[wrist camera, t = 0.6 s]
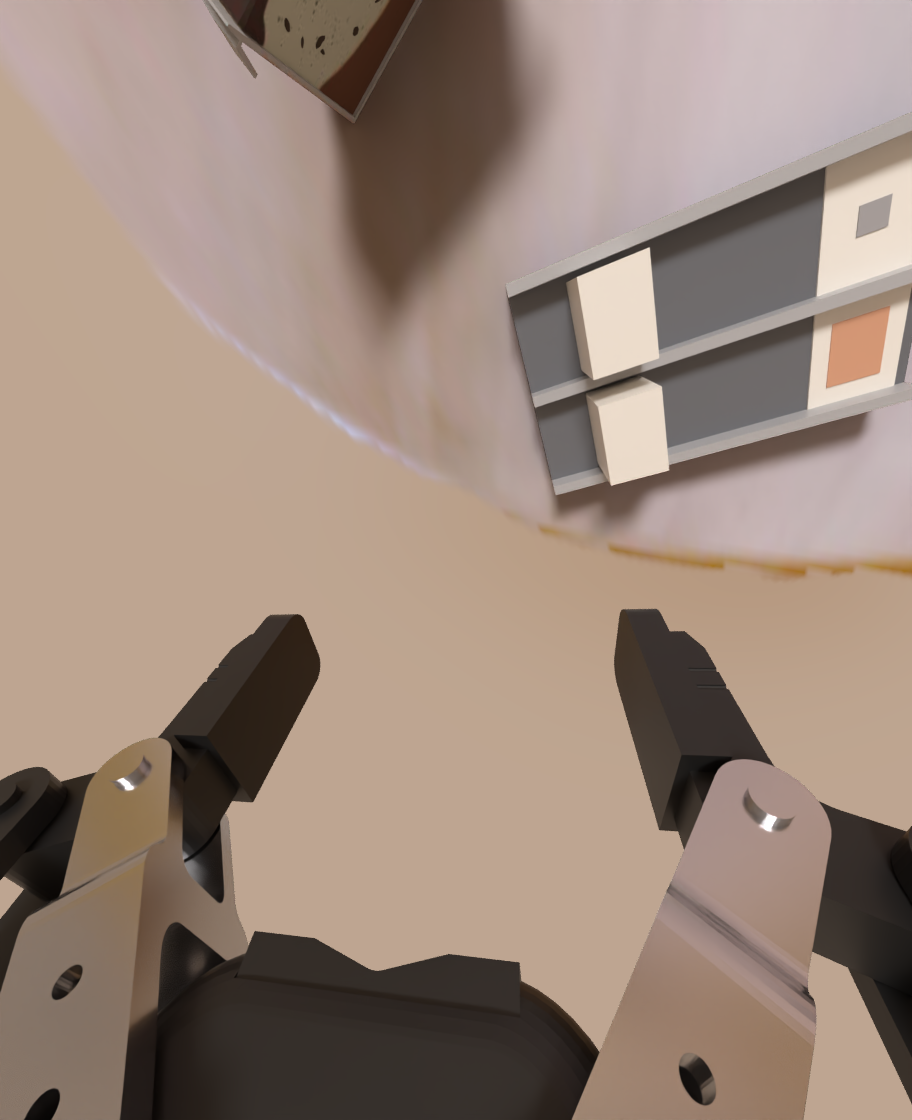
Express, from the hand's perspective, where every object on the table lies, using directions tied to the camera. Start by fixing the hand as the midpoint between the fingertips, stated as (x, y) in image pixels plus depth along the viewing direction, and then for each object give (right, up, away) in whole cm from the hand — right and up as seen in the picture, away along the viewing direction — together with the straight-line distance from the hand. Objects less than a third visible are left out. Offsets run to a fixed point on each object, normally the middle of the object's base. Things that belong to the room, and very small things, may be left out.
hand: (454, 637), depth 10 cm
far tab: (+10, +10, +14) cm, 20 cm away
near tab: (+8, +15, +11) cm, 20 cm away
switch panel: (+14, +15, +13) cm, 24 cm away
